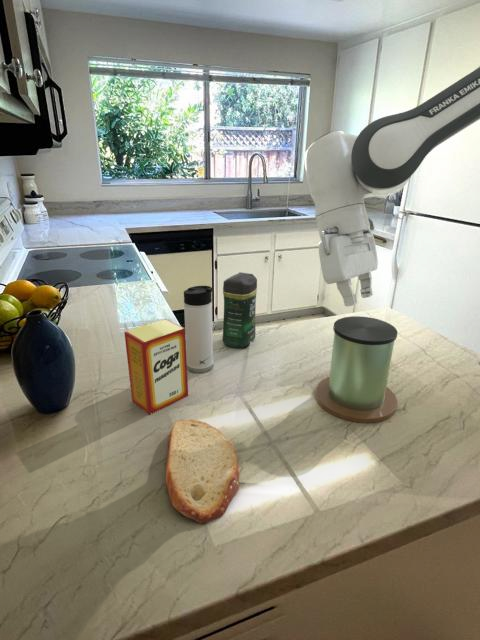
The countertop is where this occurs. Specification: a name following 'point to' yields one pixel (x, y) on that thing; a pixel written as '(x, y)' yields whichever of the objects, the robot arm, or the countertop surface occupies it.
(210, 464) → the slice of bread
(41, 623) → the countertop surface
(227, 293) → the coffee jar
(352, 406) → the lidded mug on coaster
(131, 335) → the baking soda box
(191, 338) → the travel mug
